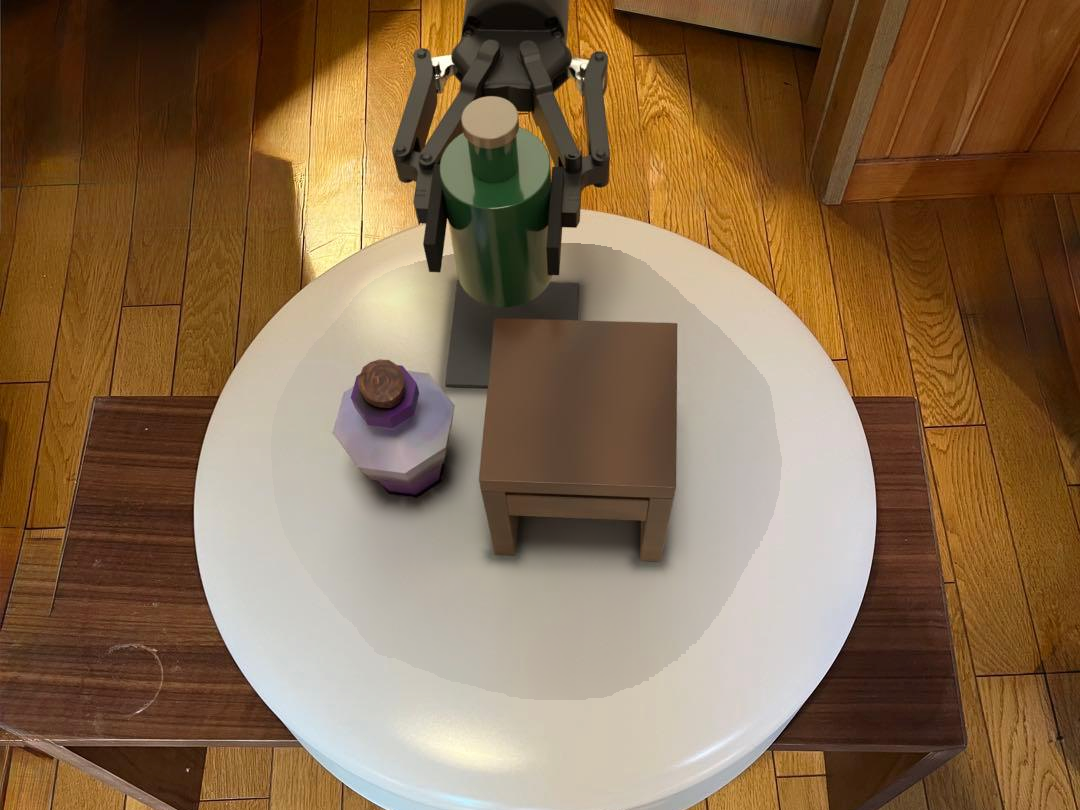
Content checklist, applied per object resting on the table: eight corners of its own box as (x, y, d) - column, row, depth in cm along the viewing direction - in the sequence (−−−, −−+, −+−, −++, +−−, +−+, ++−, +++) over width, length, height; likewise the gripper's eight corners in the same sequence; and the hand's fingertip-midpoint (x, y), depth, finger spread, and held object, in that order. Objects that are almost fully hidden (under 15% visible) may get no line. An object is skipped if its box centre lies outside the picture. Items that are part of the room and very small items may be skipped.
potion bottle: (345, 429, 75) (304, 339, 64) (454, 405, 75) (432, 310, 64) (363, 528, 71) (323, 451, 60) (477, 502, 72) (458, 420, 61)
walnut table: (663, 416, 74) (677, 322, 63) (661, 561, 69) (676, 488, 58) (507, 411, 75) (494, 317, 64) (494, 554, 70) (478, 480, 59)
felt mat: (578, 286, 79) (578, 282, 79) (573, 391, 75) (572, 388, 75) (457, 282, 80) (457, 279, 79) (445, 386, 76) (444, 384, 75)
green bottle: (561, 235, 71) (558, 79, 58) (544, 313, 68) (537, 168, 55) (468, 224, 72) (444, 68, 59) (448, 301, 69) (418, 155, 56)
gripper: (651, 51, 73) (645, 301, 64) (391, 47, 74) (350, 292, 66) (659, -43, 66) (654, 223, 58) (372, -45, 68) (323, 215, 59)
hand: (492, 259), depth 62 cm, fingers closed on green bottle, 7 cm apart
